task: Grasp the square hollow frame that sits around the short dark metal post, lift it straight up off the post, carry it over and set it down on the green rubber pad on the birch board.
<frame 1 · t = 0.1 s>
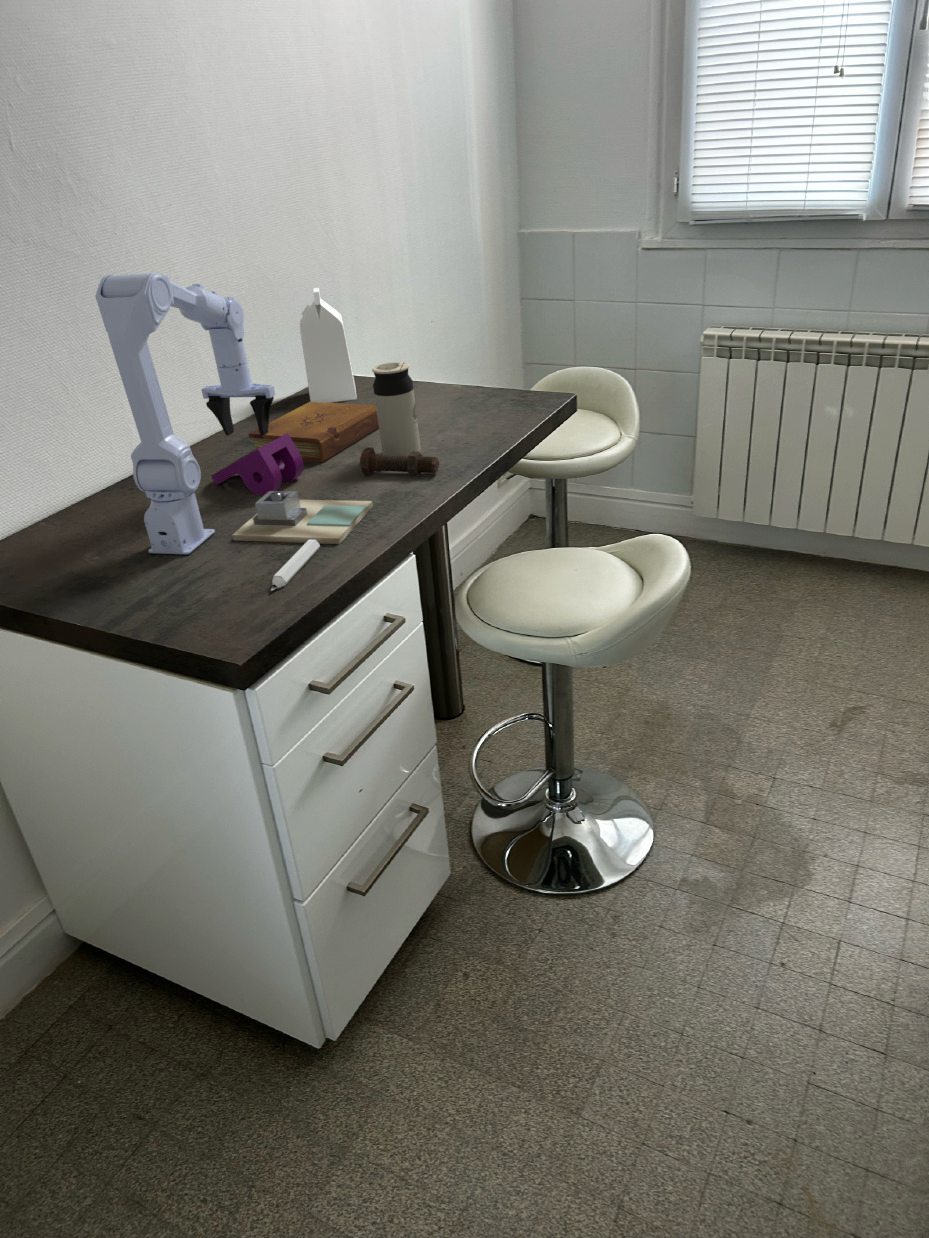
hand: (247, 433, 178), 10 cm above the table, tool pointing down, fingers open, 7 cm apart
travel mug: (402, 453, 191), on the table
bolt: (401, 476, 180), on the table
milk: (333, 396, 235), on the table
marker: (294, 573, 146), on the table
mounting bracket: (255, 486, 183), on the table
board: (304, 522, 163), on the table
square hollow frame: (279, 513, 162), point 2 cm above the table, touching peg base
diary: (319, 444, 203), on the table
peg base: (282, 524, 163), resting on board
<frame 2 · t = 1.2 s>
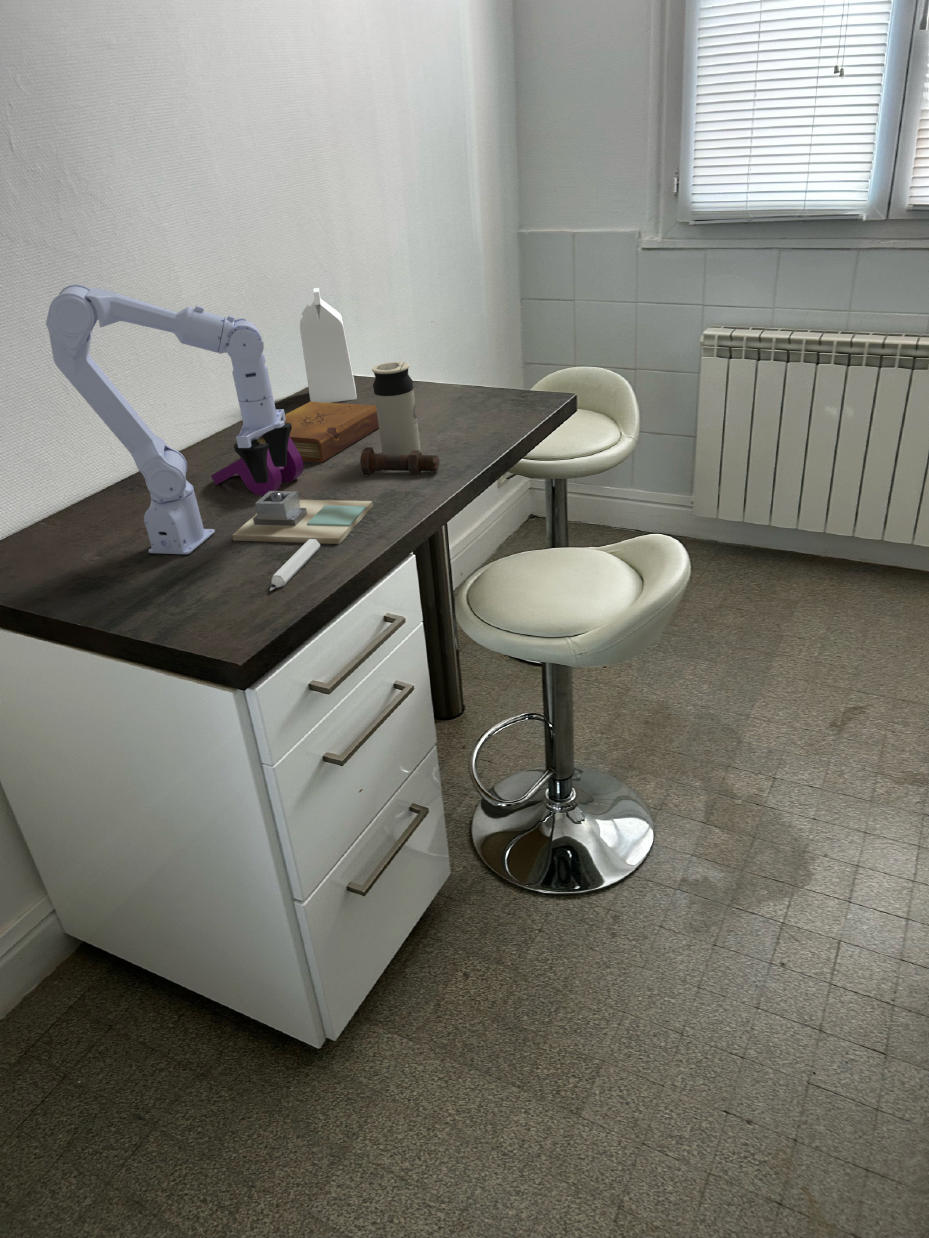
hand: (271, 474, 159), 9 cm above the table, tool pointing down, fingers open, 7 cm apart
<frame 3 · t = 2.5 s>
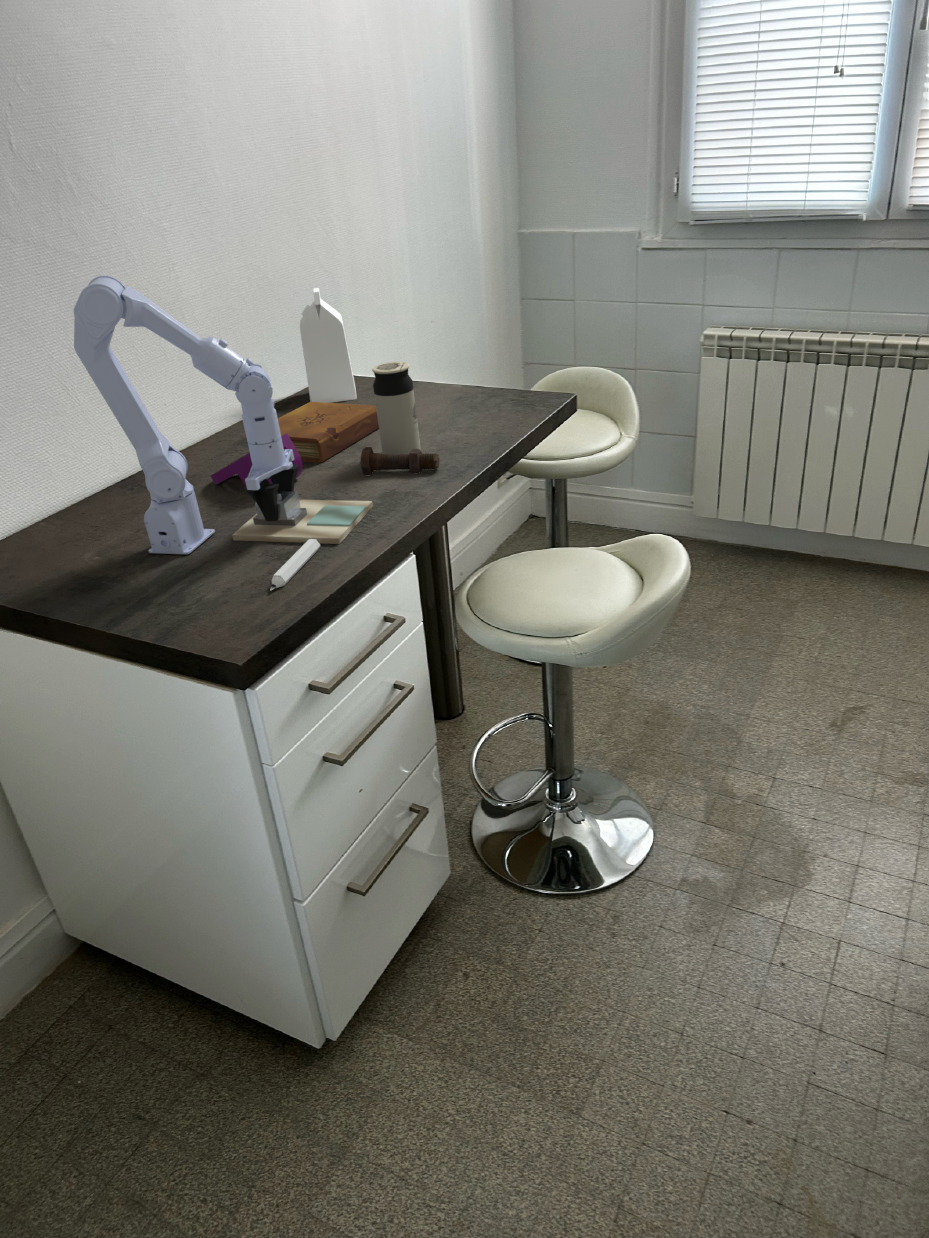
hand: (279, 513, 162), 2 cm above the table, tool pointing down, fingers closed on square hollow frame, 6 cm apart
square hollow frame: (279, 513, 162), point 2 cm above the table, touching gripper, peg base
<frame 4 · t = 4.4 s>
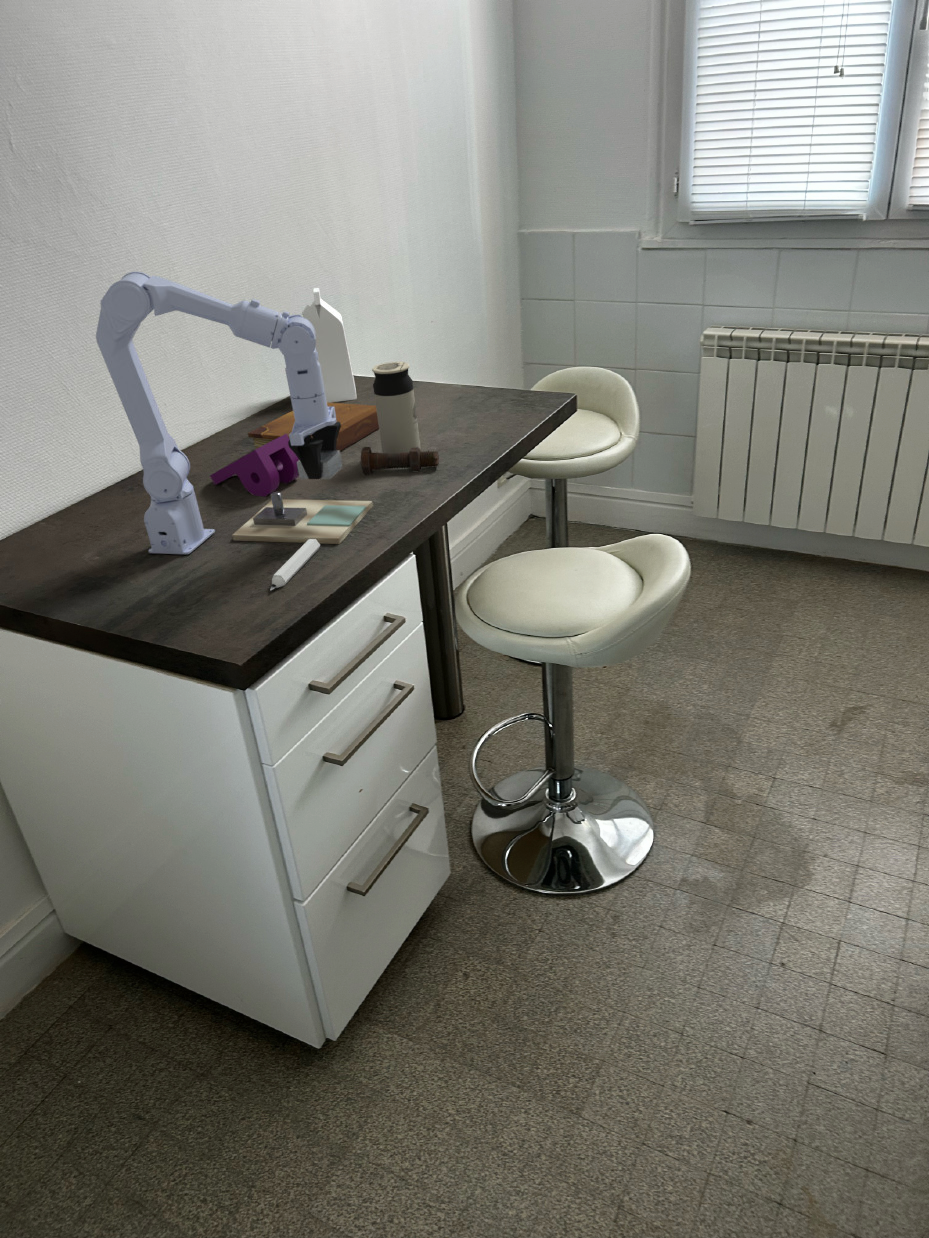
hand: (322, 471, 157), 9 cm above the table, tool pointing down, fingers closed on square hollow frame, 6 cm apart
square hollow frame: (321, 472, 158), point 9 cm above the table, touching gripper
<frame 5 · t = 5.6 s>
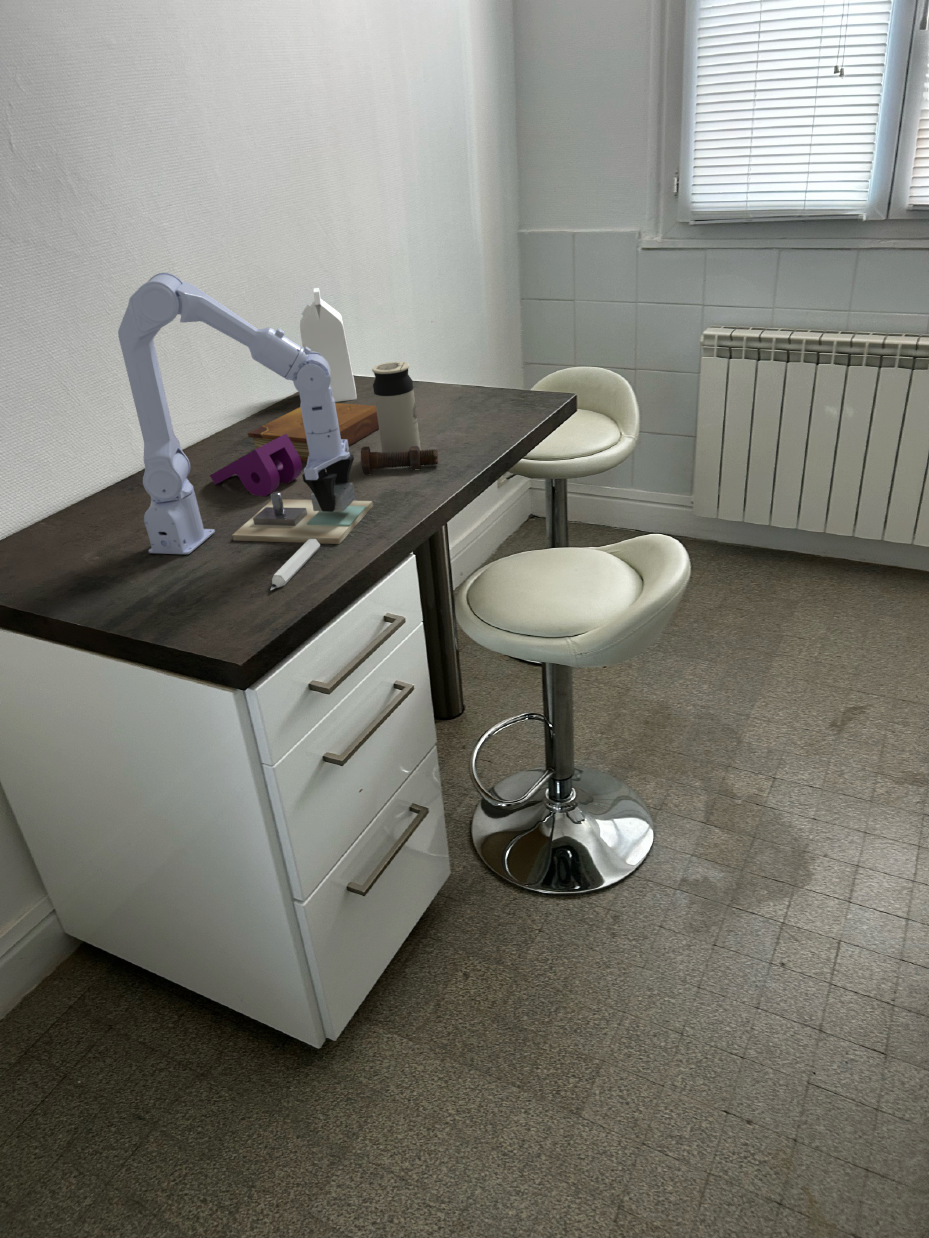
hand: (335, 503, 160), 3 cm above the table, tool pointing down, fingers closed on square hollow frame, 6 cm apart
square hollow frame: (334, 504, 160), point 3 cm above the table, touching gripper
when the fingers open (2 cm above the table, at t = 6.4 s): square hollow frame stays where it is, resting on board.
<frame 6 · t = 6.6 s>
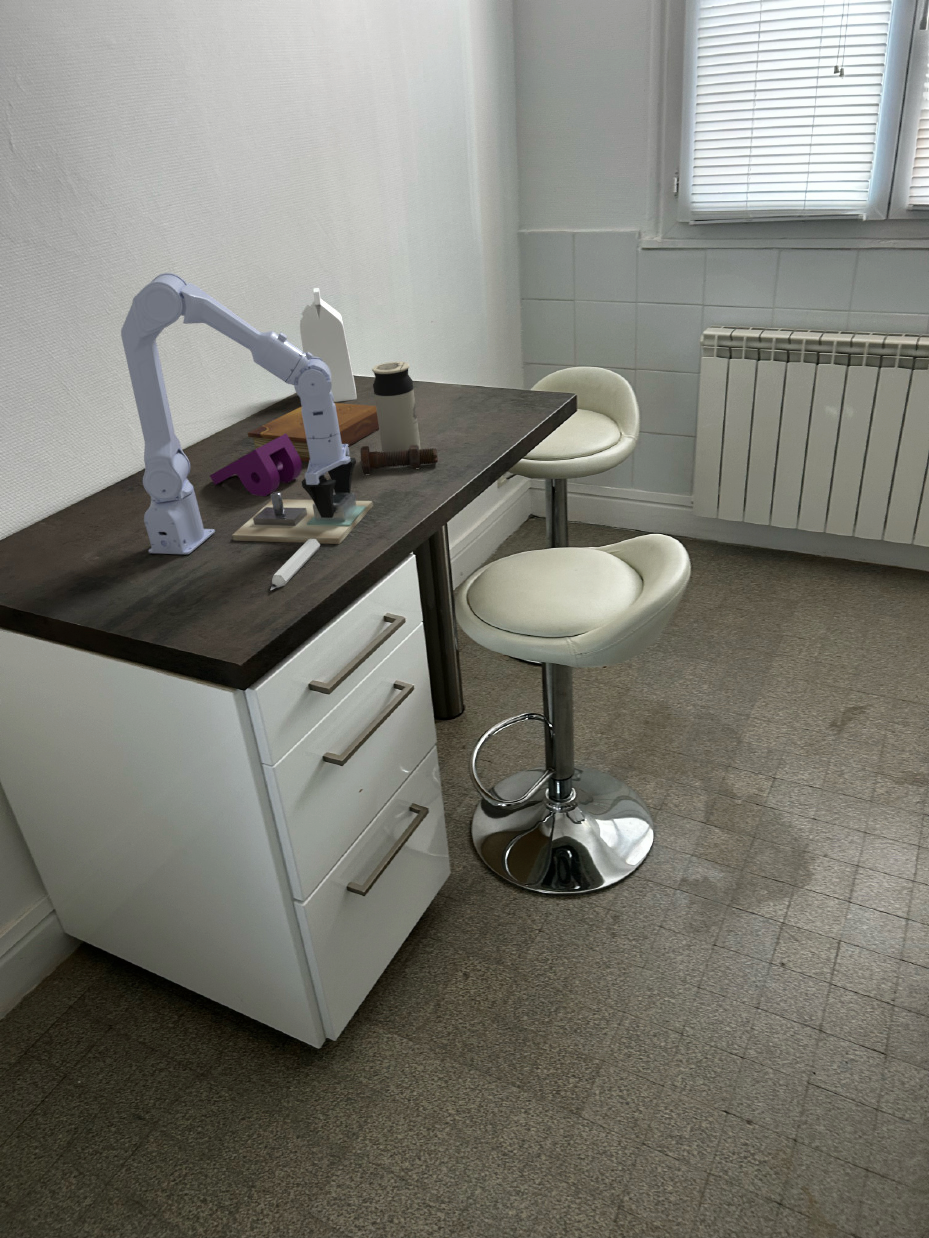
hand: (335, 508, 161), 3 cm above the table, tool pointing down, fingers open, 7 cm apart
square hollow frame: (336, 514, 161), point 1 cm above the table, touching board
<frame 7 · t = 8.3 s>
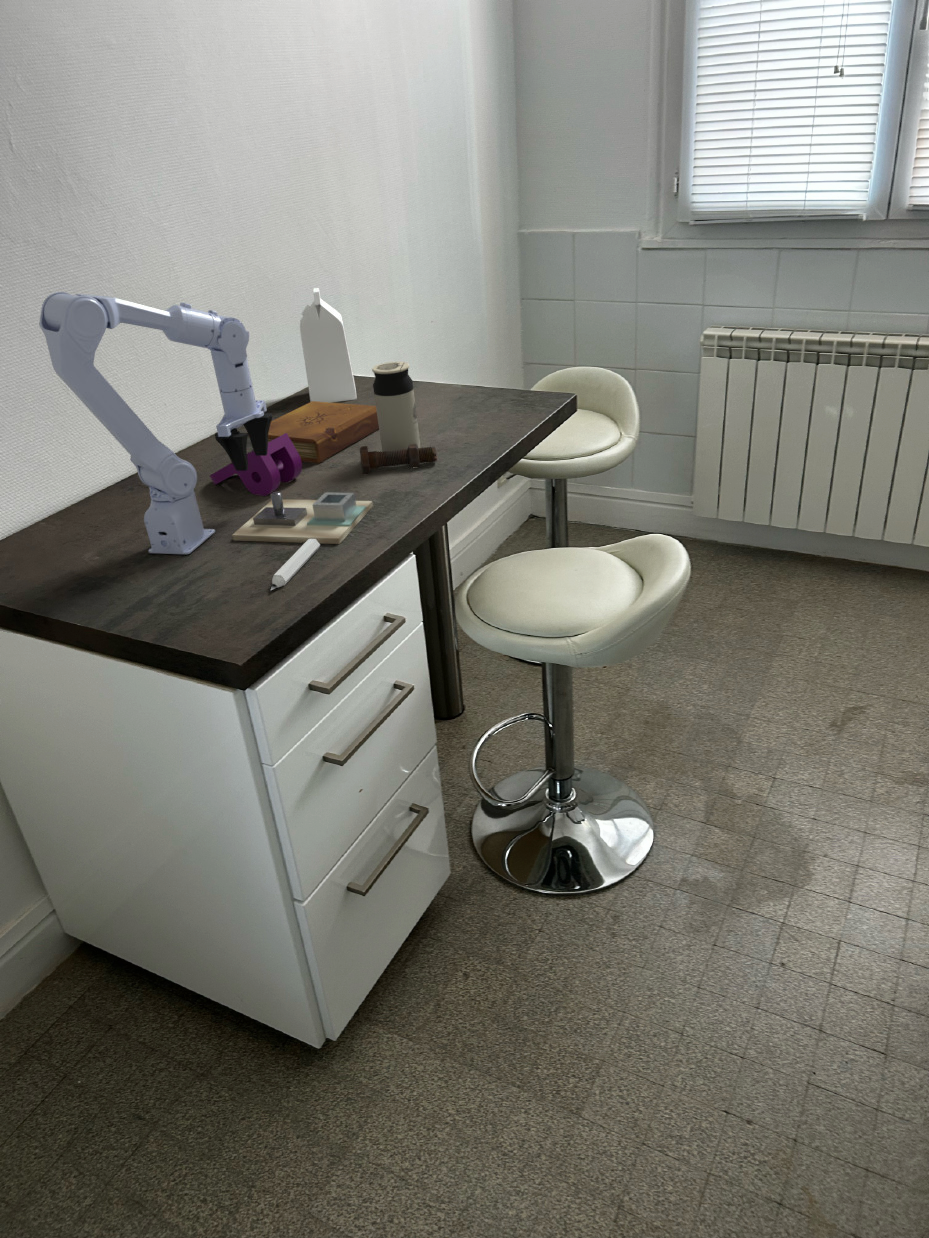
hand: (252, 462, 165), 9 cm above the table, tool pointing down, fingers open, 7 cm apart
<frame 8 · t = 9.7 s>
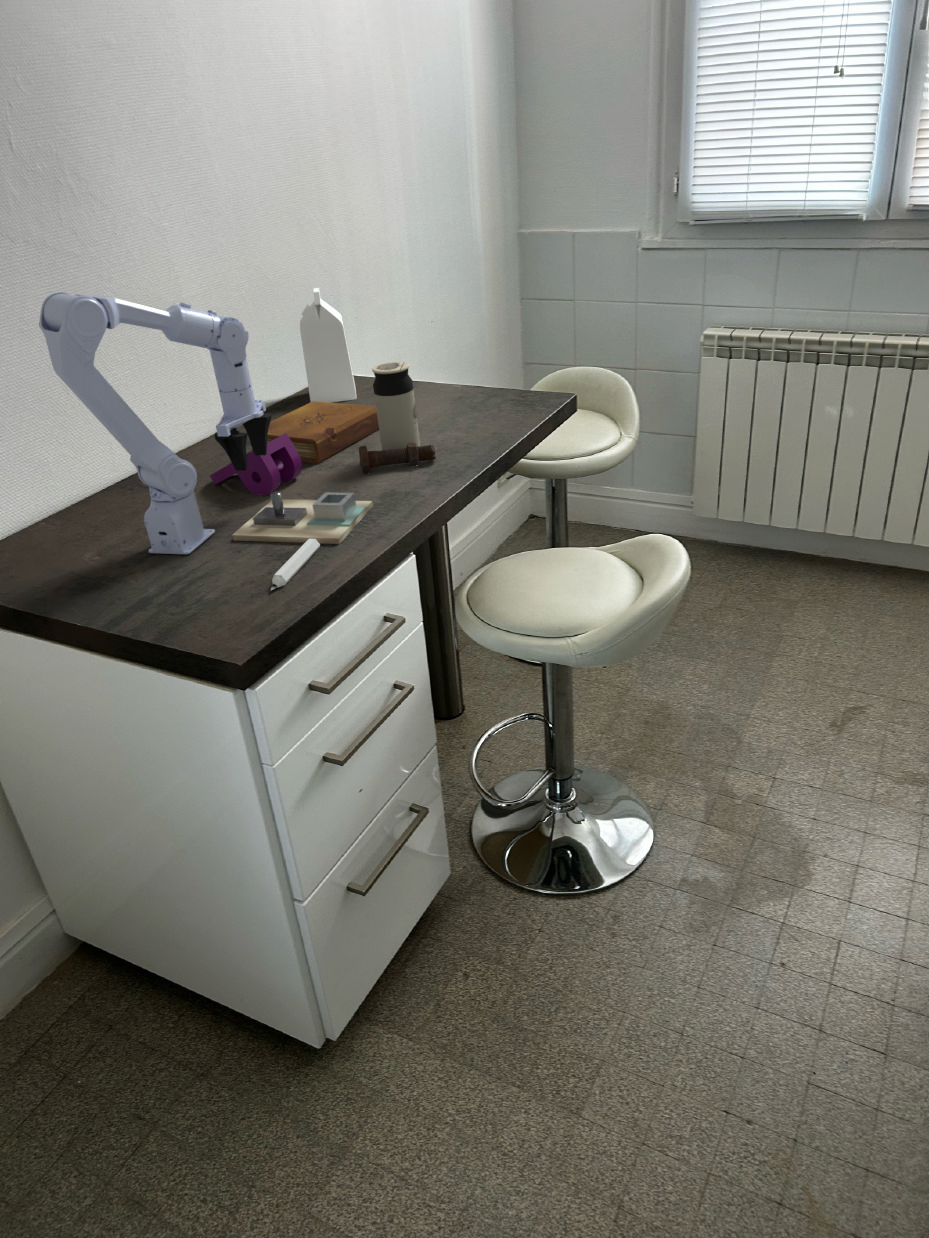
hand: (251, 462, 165), 9 cm above the table, tool pointing down, fingers open, 7 cm apart
at the end: square hollow frame inside the target area on the board (0.1 cm from its centre), point 1.3 cm above the board's base; square hollow frame touching board; the gripper is holding nothing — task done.
